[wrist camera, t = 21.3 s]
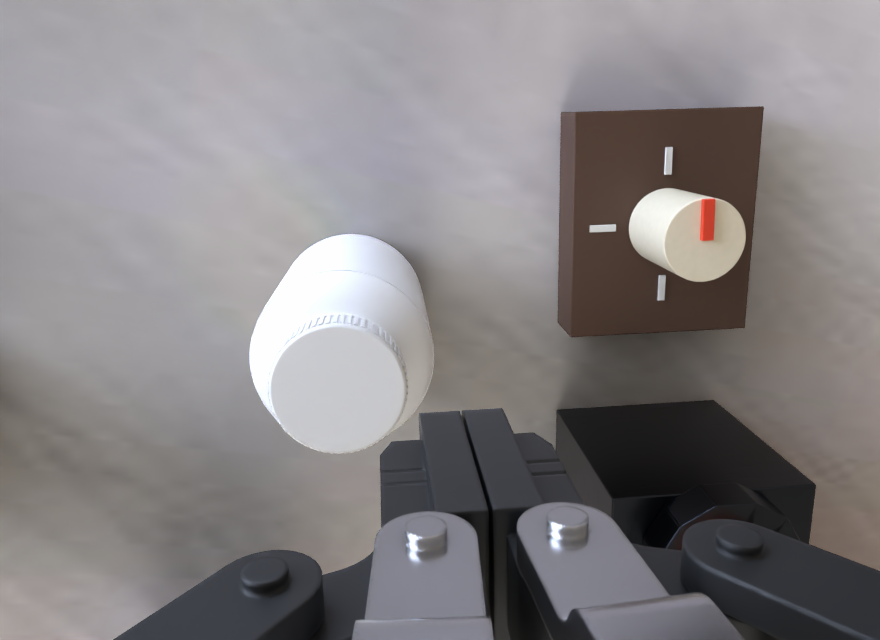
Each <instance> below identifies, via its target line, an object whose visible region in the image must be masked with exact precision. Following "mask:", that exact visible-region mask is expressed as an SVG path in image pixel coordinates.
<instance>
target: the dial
mask: <svg viewBox="0 0 880 640" xmlns="http://www.w3.org/2000/svg"><path fill="white" fill-rule="evenodd" d="M629 236H630V240H631V243H632V245H633V247H634V248H635V250H636V251H637V252H638V253H639V254H640V255H641V256H642V257H644V258H645V259H647V260H649V261H651V262H653V263H655V264H657V265H659V266H661V267H663V268H665V269H666V270H668V271H670V272H672V273H674V274H676V275H678V276H680V277H682V278H684V279H687V280H690V281H694V282H706V281H711V280H714V279H716V278H719V277H721V276H722V275H724V274H725V273H727V272H728V271H729V270H730V269H731V268H733V266H734V265H735V264H736V263H737V261H738V260H739V258H740V256H741V254H742V252H743V249H744V246H745V241H746V230H745V225H744V221H743V219H742V217H741V215H740V214H739V212H738V211H737V210H736V208H734V207H733V206H732V205H731V204H729V203H728V202H726V201H724V200H721V199H718V198H713V197H709V196H705V195H700V194H696V193H692V192H687V191H683V190H679V189H674V188H664V189H659V190H656V191H653V192H651V193H649V194H648V195H646V196H645V197H644V198H643V199H642V200H640V202H639V203H638V204H637V205H636V207H635V208H634V210H633V212H632V214H631V217H630V222H629Z"/></svg>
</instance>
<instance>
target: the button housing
mask: <svg viewBox="0 0 880 640" xmlns="http://www.w3.org/2000/svg"><path fill="white" fill-rule="evenodd" d="M556 453H557V455H558V457H559V459H560V462H562V464H563V466H564V468H565V470H566V474H568V475H569V477H570V479H571V481H572V482H573V484H574V486H575V488H576V490H577V492H578V493H579V495H580V497H581V499H582V501H583V503H584V504H585V505H587V506H591V507H593V508H596V509H598V510H600V511H602V512H604V513H606V514H607V515H608V516H610V517H611V518H612V519H613V520H614V521H615V522H616V524H617V525H618V526H619V528H620V529H621V530H622V532H623V533H624V534H625V536H626V537H627V538H628V540H629V541H630V543H634V544H638V545H642V546H649V547H657V548H665V549H674V550H682V539H683V534H684V533H685V531H686V530H687V529H688V528H689V527H690V526H692V525H694V524H696V523H698V522H701V521H706V520H712V519H731V520H739V521H745V522H749V523H753V524H756V525H759V526H762V527H765V528H767V529H770V530H772V531H775V532H778V533H780V534H783V535H786V536H788V537H791V538H794V539H796V540H799V541H801V542H804V543H807V544H809V539H810V530H811V522H812V514H813V506H814V497H815V489H816V485H815V484H814V483H813V482H812V481H811V480H810V479H808V478H807V477H806V476H805V475H804V474H802V473H801V472H800V471H799V470H797V469H796V468H795V467H794V466H793V465H791V464H790V463H789V462H788V461H787V460H785V459H784V458H783V457H782V456H781V455H779V454H778V453H777V452H776V451H775V450H773V449H772V448H771V447H770V446H769V445H767V444H766V443H765V442H764V441H762V440H761V439H760V438H759V437H758V436H756V435H755V434H754V433H753V432H752V431H750V430H749V429H748V428H747V427H746V426H744V425H743V424H742V423H741V422H740V421H738V420H737V419H736V418H735V417H734V416H732V415H731V414H730V413H729V412H727V411H726V410H725V409H724V408H723V407H721V406H720V405H719V404H718V403H717V402H715V401H714V400H710V401H694V402H677V403H661V404H644V405H628V406H611V407H595V408H578V409H562V410H557V416H556Z"/></svg>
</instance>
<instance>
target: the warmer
mask: <svg viewBox="0 0 880 640" xmlns="http://www.w3.org/2000/svg"><path fill="white" fill-rule="evenodd" d="M763 109H764V107H729V108H696V109H662V110H628V111H594V112H562V113H561V148H560V213H559V278H558V323H559V324H560V326H561V327H562V328H563V329H564V330H565V331H566V332H567V333H568V334H569V336H570V337H583V336H602V335H621V334H640V333H659V332H677V331H696V330H715V329H734V328H744V327H745V317H746V305H747V294H748V282H749V271H750V259H751V248H752V236H753V224H754V213H755V201H756V190H757V178H758V167H759V155H760V144H761V132H762V120H763ZM664 188H674V189H679V190H683V191H687V192H692V193H696V194H700V195H705V196H709V197H713V198H718V199H721V200H724V201H726V202H728V203H729V204H731V205H732V206H733V207H734V208H736V210H737V211H738V212H739V214H740V215H741V217H742V219H743V221H744V225H745V230H746V241H745V246H744V249H743V252H742V254H741V256H740V258H739V260H738V261H737V263H736V264H735V265H734V266H733V268H731V269H730V270H729V271H728V272H727V273H725V274H724V275H722V276H721V277H719V278H716V279H714V280H711V281H706V282H694V281H690V280H687V279H684V278H682V277H680V276H678V275H676V274H674V273H672V272H670V271H668V270H666V269H665V268H663V267H661V266H659V265H657V264H655V263H653V262H651V261H649V260H647V259H645V258H644V257H642V256H641V255H640V254H639V253H638V252H637V251H636V250H635V248H634V247H633V245H632V243H631V240H630V236H629V222H630V217H631V214H632V212H633V210H634V208H635V207H636V205H637V204H638V203H639V202H640V200H642V199H643V198H644V197H645V196H646V195H648V194H649V193H651V192H653V191H656V190H659V189H664Z"/></svg>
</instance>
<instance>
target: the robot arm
mask: <svg viewBox="0 0 880 640" xmlns="http://www.w3.org/2000/svg"><path fill="white" fill-rule="evenodd" d="M419 431H420V440H410V441H394V442H391V443H390V444H389V446H388V447H387V448H386V449H385V450H384V452H383V453H382V454H381V455H380V472H381V474H380V476H381V529H380V530H379V531H378V533H377V535H376V538H375V544H374V551H373V552H372V553H371V554H370V555H369V556H368V557H366V558H365V559H364V560H362V561H360V562H358V563H357V564H355V565H352V566H350V567H348V568H345V569H342V570H339V571H335V572H332V573H328V574H325V575H322V571H321V568H320V566H319V565H318V563H317V562H316V561H315V560H314V559H312V558H311V557H309V556H307V555H305V554H302V553H299V552H295V551H288V550H271V551H264V552H259V553H255V554H251V555H248V556H245V557H242V558H240V559H238V560H236V561H234V562H232V563H230V564H229V565H227V566H225V567H224V568H222V569H221V570H219V571H218V572H216V573H215V574H213V575H212V576H210V577H209V578H207V579H206V580H204V581H202V582H201V583H199V584H198V585H196V586H195V587H193V588H192V589H190V590H189V591H187V592H186V593H184V594H183V595H181V596H180V597H178V598H176V599H175V600H173V601H172V602H170V603H169V604H167V605H166V606H164V607H163V608H161V609H160V610H158V611H157V612H155V613H153V614H152V615H150V616H149V617H147V618H146V619H144V620H143V621H141V622H140V623H138V624H137V625H135V626H134V627H132V628H130V629H129V630H127V631H126V632H124V633H123V634H121V635H120V636H118V637H117V638H115V639H114V640H880V571H878V570H875V569H873V568H870V567H867V566H865V565H862V564H859V563H857V562H854V561H851V560H849V559H846V558H844V557H841V556H838V555H836V554H833V553H830V552H828V551H825V550H823V549H820V548H817V547H815V546H812V545H809V544H807V543H804V542H801V541H799V540H796V539H794V538H791V537H788V536H786V535H783V534H780V533H778V532H775V531H772V530H770V529H767V528H765V527H762V526H759V525H756V524H753V523H749V522H745V521H739V520H731V519H712V520H706V521H701V522H698V523H696V524H694V525H692V526H690V527H689V528H688V529H687V530H686V531H685V533H684V534H683V539H682V550H674V549H665V548H657V547H649V546H642V545H638V544H634V543H630V541H629V540H628V538H627V537H626V536H625V534H624V533H623V532H622V530H621V529H620V528H619V526H618V525H617V524H616V522H615V521H614V520H613V519H612V518H611V517H610V516H608V515H607V514H606V513H604V512H602V511H600V510H598V509H596V508H593V507H591V506H587V505H585V504H584V503H583V501H582V499H581V497H580V495H579V493H578V492H577V490H576V488H575V486H574V484H573V482H572V481H571V479H570V477H569V475H568V474H566V470H565V468H564V466H563V464H562V462H560V459H559V457H558V455H557V453H556V451H555V449H554V448H553V446H552V444H550V443H549V442H547V441H546V440H544V439H543V438H541V437H540V436H538V435H536V434H535V433H519V434H514V433H513V431H512V429H511V426H510V424H509V422H508V420H507V417H506V415H505V413H504V411H503V409H502V408H497V409H480V410H464V411H462V414H460V411H449V412H432V413H419Z"/></svg>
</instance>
